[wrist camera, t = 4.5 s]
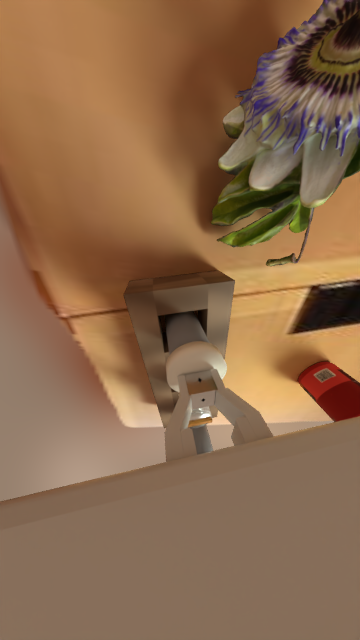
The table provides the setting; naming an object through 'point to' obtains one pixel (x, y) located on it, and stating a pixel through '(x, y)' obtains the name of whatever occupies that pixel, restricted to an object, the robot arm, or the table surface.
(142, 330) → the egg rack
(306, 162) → the passion flower
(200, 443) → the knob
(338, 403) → the canned food
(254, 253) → the table surface
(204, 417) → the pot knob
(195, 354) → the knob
